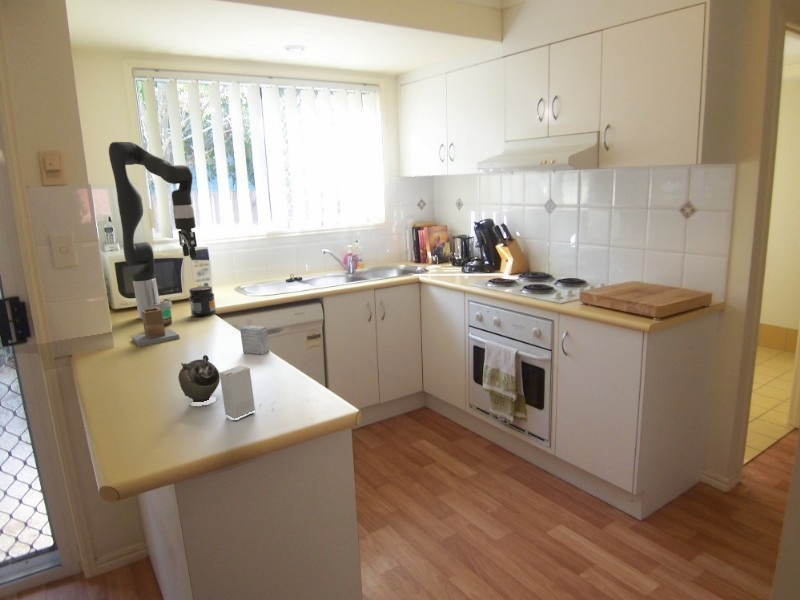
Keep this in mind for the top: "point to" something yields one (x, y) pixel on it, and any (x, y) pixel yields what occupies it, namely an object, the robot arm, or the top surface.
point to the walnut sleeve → (153, 322)
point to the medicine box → (254, 339)
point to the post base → (143, 340)
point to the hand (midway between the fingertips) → (189, 256)
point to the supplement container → (202, 301)
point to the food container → (164, 311)
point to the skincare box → (237, 391)
